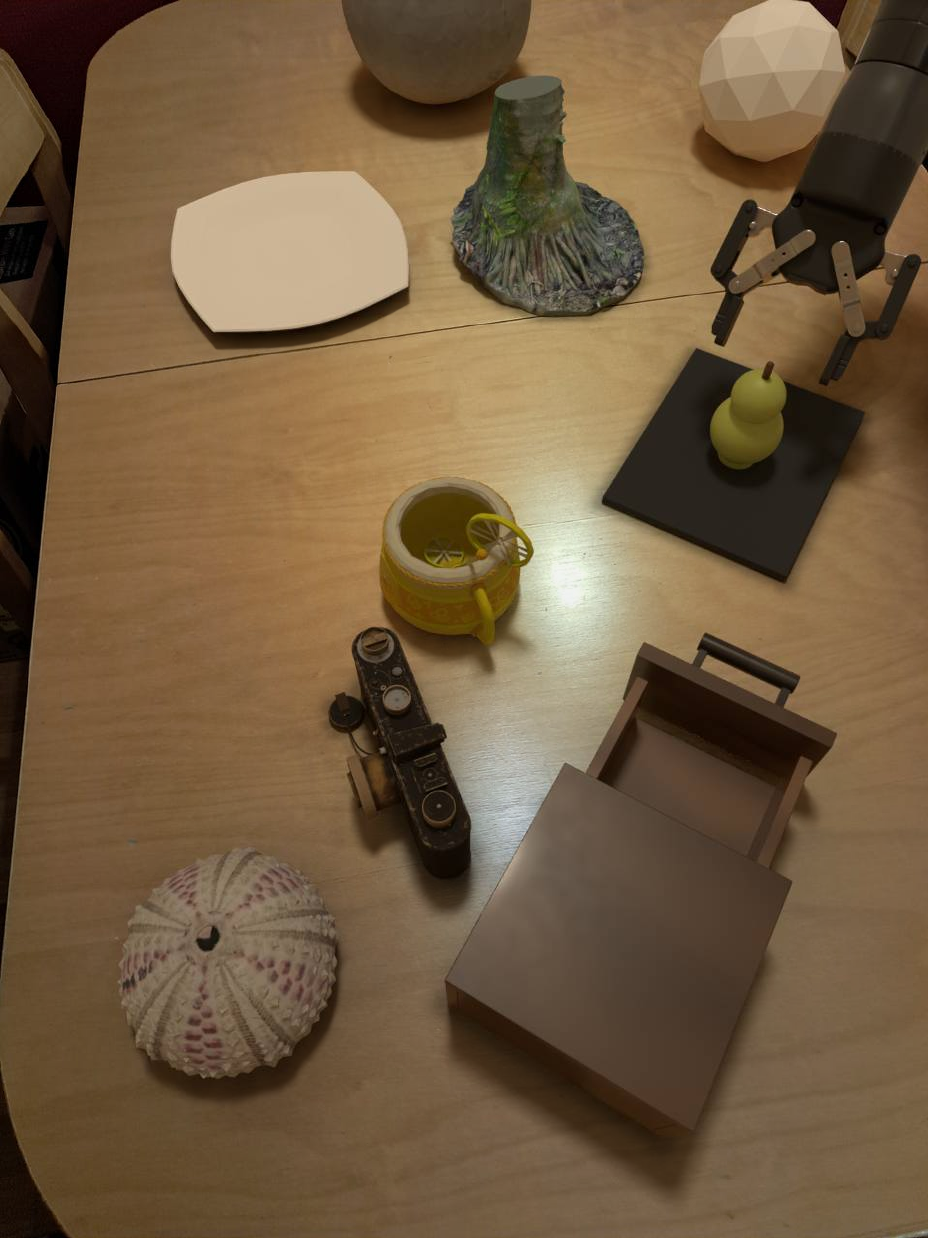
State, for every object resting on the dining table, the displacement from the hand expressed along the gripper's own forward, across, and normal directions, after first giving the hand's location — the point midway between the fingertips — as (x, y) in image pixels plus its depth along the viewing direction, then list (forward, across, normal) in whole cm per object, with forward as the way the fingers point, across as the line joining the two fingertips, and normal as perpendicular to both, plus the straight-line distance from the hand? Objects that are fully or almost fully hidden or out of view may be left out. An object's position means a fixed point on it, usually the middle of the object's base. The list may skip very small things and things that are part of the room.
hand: (770, 364), depth 73 cm
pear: (+8, 0, +5) cm, 9 cm away
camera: (+36, -10, -22) cm, 43 cm away
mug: (+25, -14, -11) cm, 31 cm away
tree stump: (-3, -27, +17) cm, 32 cm away
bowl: (-17, -51, +32) cm, 62 cm away
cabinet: (+38, +8, -25) cm, 46 cm away
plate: (+7, -48, +8) cm, 49 cm away
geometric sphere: (-22, -15, +36) cm, 45 cm away
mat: (+8, 0, +6) cm, 10 cm away
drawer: (+28, +8, -16) cm, 33 cm away
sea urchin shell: (+47, -12, -33) cm, 59 cm away
